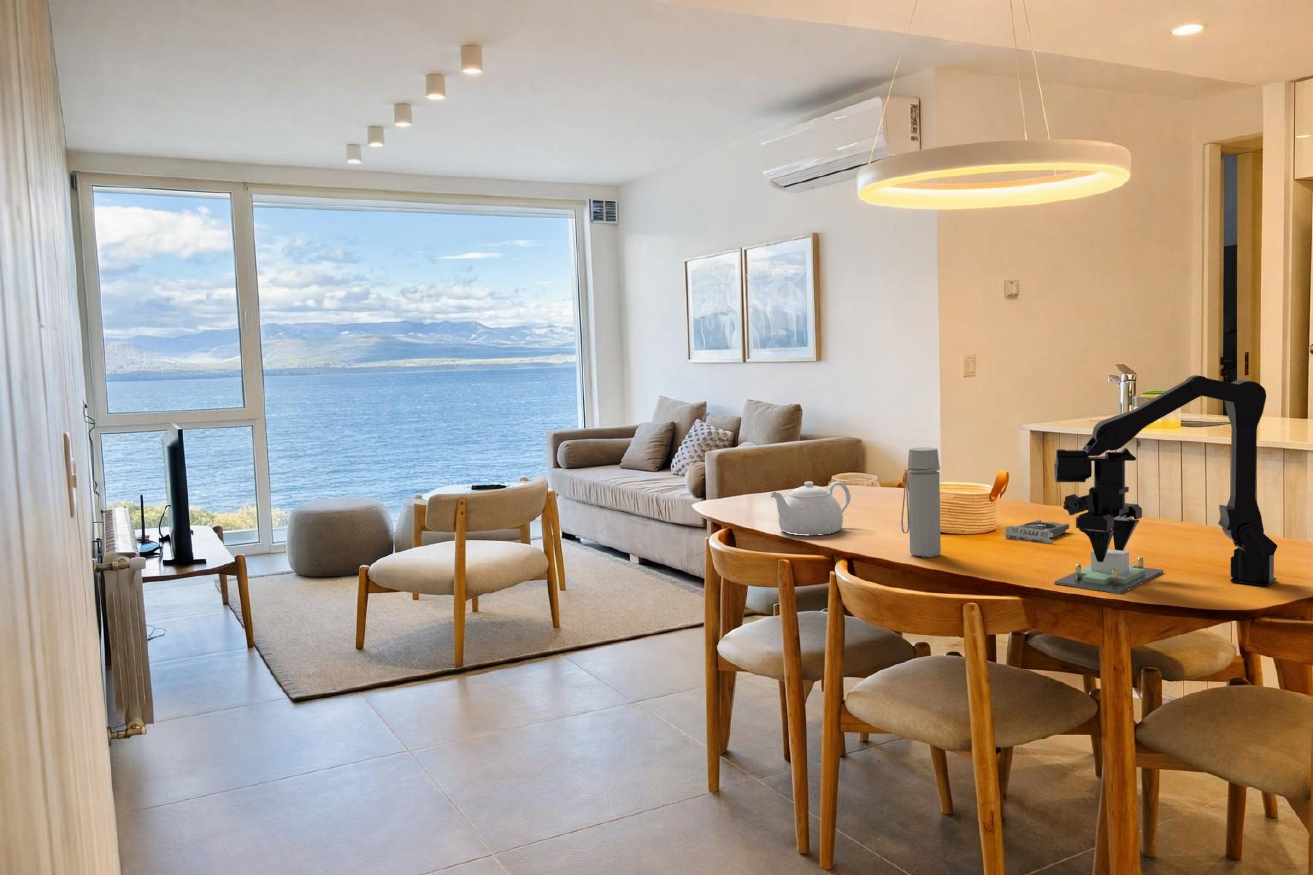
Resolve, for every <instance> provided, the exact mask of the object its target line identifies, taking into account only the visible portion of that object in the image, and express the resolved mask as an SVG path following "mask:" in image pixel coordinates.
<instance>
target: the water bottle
mask: <svg viewBox="0 0 1313 875" xmlns="http://www.w3.org/2000/svg"><path fill="white" fill-rule="evenodd" d="M907 460H908V461H907V468H908V469H904V470H903V474H904V477H905V478H904V486H903V487H904V489H903V498H902V510H901V520H900V523H901V524H900V525H901V531H902V534H908V533H909V553H910V555H912V554H913V555H912V556H914V555H915V556H914V557H916V556H922V557H921V558H935V557H938V556H939V555H940V554H941V551H942V549H941V543H942V542H941V496H940V494H941V493H940V492H941V491H940V490H941V489H940V484H941V483H940V472H939V471H940V469H941V467H940V459H939V451H938V448H937V447H911V448H909V450H908V459H907ZM905 498H906V509H907V510H906V511H907V512H906V513H907V531H905V528H904V523H903V522H904V509H905ZM934 556H935V557H934Z"/></svg>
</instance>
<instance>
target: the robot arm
mask: <svg viewBox="0 0 1313 875" xmlns="http://www.w3.org/2000/svg"><path fill="white" fill-rule="evenodd" d="M1200 397H1207V398H1210V399H1216V400H1221V401H1224V405H1225V410H1226V413H1227V417H1228V420H1229V423H1230V428H1231V431H1230V432H1231V436H1230V438H1231V442H1230V444H1231V446H1230V454H1231V455H1230V496H1229V499H1228V501H1227V505H1224V504H1218V508H1219V509H1218V510H1219V516H1220V517H1219V521H1218V522H1217V524H1218V525H1219V526H1220V527H1221V529H1222V531H1223V533H1224V534H1225V536H1227V538H1229V539H1230V540H1232V543H1233V545H1234V547H1236V548H1235V549H1234V550H1233V555H1232V556H1231V557H1230V582H1231V583H1236V584H1243V585H1244V584H1246V585H1252V586H1260V587H1269V586H1270V585H1272V584H1273V583H1275V582H1277V578H1276V577H1275V576H1274V575H1275V553H1276V552H1277V548H1278V544H1277V543H1275V542H1274V541H1273V540H1272V539H1271V538H1269V536H1267V535H1266V534H1265V529H1264V523H1263V518H1262V514H1261V511H1260V508H1259V504H1258V501H1257V451H1258V449H1257V448H1258V444H1257V443H1258V442H1257V441H1258V438H1257V437H1258V436H1257V435H1258V425H1259V424H1260V421H1261V419H1262V416H1263V414H1264V410H1265V405H1266V400H1267V392H1266V388H1264V387H1263V386H1262V385H1261V383H1259V382H1256V381H1253V380H1245V379H1238V380H1234V381H1232V382H1228V381H1222V380H1217V379H1212V378H1207V377H1206V376H1202V375H1196V374H1194V375H1191V376H1189V377H1187V378H1186V379H1185V380H1184V381H1182V382H1180V383H1179V384H1176V385H1175V386H1174V387H1172V388H1169V389H1168V390H1166V391H1164V392H1162V393H1161V394H1159V395H1157V396H1155V397H1154V398H1152V399H1151V400H1148V401H1146V402H1145V403H1143V404H1142V405H1140V406H1138V407H1137V408H1135V409H1132V410H1130V411H1127V412H1124V413H1120V414H1116V415H1113V416H1111V417H1108V418H1106V419H1103V420H1101V421H1098V422H1097V423H1096V424H1095V425H1094V427H1093V430H1092V436H1091V438H1090V439H1089V440H1088V441H1087V443H1086V444H1085V445H1084V446H1083V447H1082V449H1065V448H1064V449H1061V448H1057V449H1056V450H1055V452H1056V453H1055V461H1054V462H1055V463H1054V466H1053V467H1054V469H1053V470H1054V480H1055V483H1086V480H1089V478H1091V477H1092V474H1093V486H1092V487H1090V488H1089V489H1088V494H1085V495H1082V496H1078V494H1076V493H1073V494H1070V495H1066V496H1065V497H1064V501H1063V509H1064V510H1066V511H1067V512H1068V514H1069V515H1068V516H1074V515H1076V514H1079V513H1080V514H1079V515H1078V516H1077V517H1076V518H1075V528H1076V529H1078V531H1080V532H1082V533H1083V534H1085V535H1086V536H1087V537H1088V539H1089V541H1090V544H1091V547H1092V551H1093V550H1094V553H1095V556H1096V559H1097V561H1098V562H1103V561H1104V559H1105V556H1106V553H1107V550H1108V549H1109V547H1110V544H1111V541H1112V538H1113V548H1114V550H1120V551H1125V548H1126V546H1127V545H1128V542H1129V540H1130V539H1131V536H1132V534H1133V533H1134V531H1135V530H1136V526H1137V525H1138V524H1139V522H1140V519H1142V518H1143V508H1142V507H1141V506H1140V504H1137V503H1128V502H1127V503H1126V493H1129V488H1130V487H1129V486H1126V462H1127V461H1128V462H1129V461H1130V462H1131V461H1132V462H1133V461H1137V457H1136V456H1134V455H1133V454H1132V453H1131V452H1130V451H1129V449H1128V448H1127V447H1124V446H1125V445H1127V443H1129V442H1131V440H1133V439H1134V438H1135V437H1136V436H1137V435H1138V434H1139V433H1140V432H1141V431H1142V430H1143V429H1145V428H1146V427H1148V426H1149V425H1151V424H1153V423H1155V422H1157V421H1158V420H1160V419H1162V418H1164V417H1165V416H1167V415H1169V414H1171V413H1173V412H1175V411H1176V410H1178V409H1180V408H1182V407H1184V406H1185V405H1187V404H1189V403H1191V402H1193V401H1195V400H1196V399H1198V398H1200ZM1121 448H1123V449H1122V450H1121V451H1118V450H1120V449H1121ZM1116 450H1117V451H1116ZM1104 453H1105V454H1104ZM1102 454H1104V455H1102ZM1101 455H1102V456H1101ZM1092 462H1093V464H1092ZM1092 466H1093V468H1092ZM1092 470H1093V471H1092ZM1082 512H1083V513H1082Z"/></svg>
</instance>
